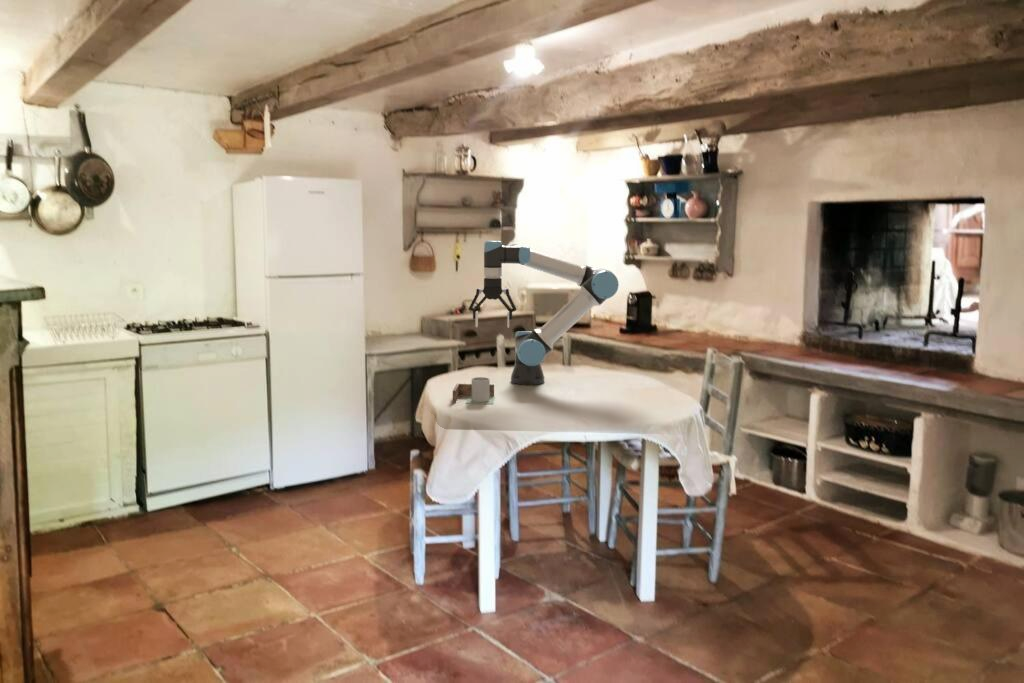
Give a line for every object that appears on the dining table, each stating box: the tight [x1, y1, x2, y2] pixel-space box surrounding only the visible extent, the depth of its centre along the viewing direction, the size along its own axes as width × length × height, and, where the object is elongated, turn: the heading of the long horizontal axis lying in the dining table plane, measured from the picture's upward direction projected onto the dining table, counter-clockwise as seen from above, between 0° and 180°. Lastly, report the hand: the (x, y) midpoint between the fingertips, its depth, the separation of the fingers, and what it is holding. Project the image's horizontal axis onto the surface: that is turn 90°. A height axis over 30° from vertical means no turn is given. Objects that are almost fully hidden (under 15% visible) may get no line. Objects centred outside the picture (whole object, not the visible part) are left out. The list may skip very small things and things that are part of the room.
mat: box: [465, 396, 496, 405], centre depth 321 cm, size 11×12×1 cm
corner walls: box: [452, 383, 495, 404], centre depth 322 cm, size 16×14×5 cm
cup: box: [471, 376, 491, 403], centre depth 320 cm, size 7×10×9 cm
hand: (492, 327), depth 340 cm, fingers open, 13 cm apart
